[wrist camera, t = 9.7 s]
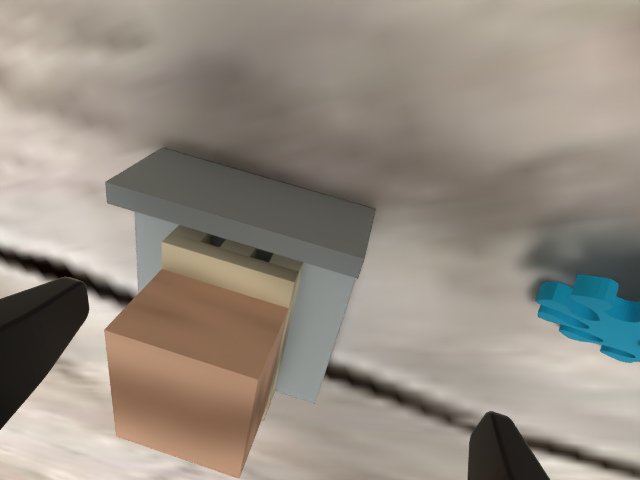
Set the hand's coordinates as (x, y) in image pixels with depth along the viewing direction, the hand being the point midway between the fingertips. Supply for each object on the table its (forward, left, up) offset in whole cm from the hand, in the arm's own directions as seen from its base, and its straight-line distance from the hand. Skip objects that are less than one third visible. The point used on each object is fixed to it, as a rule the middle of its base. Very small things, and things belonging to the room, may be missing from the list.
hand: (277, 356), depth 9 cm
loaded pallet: (-9, +4, -10) cm, 14 cm away
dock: (-9, +4, -12) cm, 15 cm away
